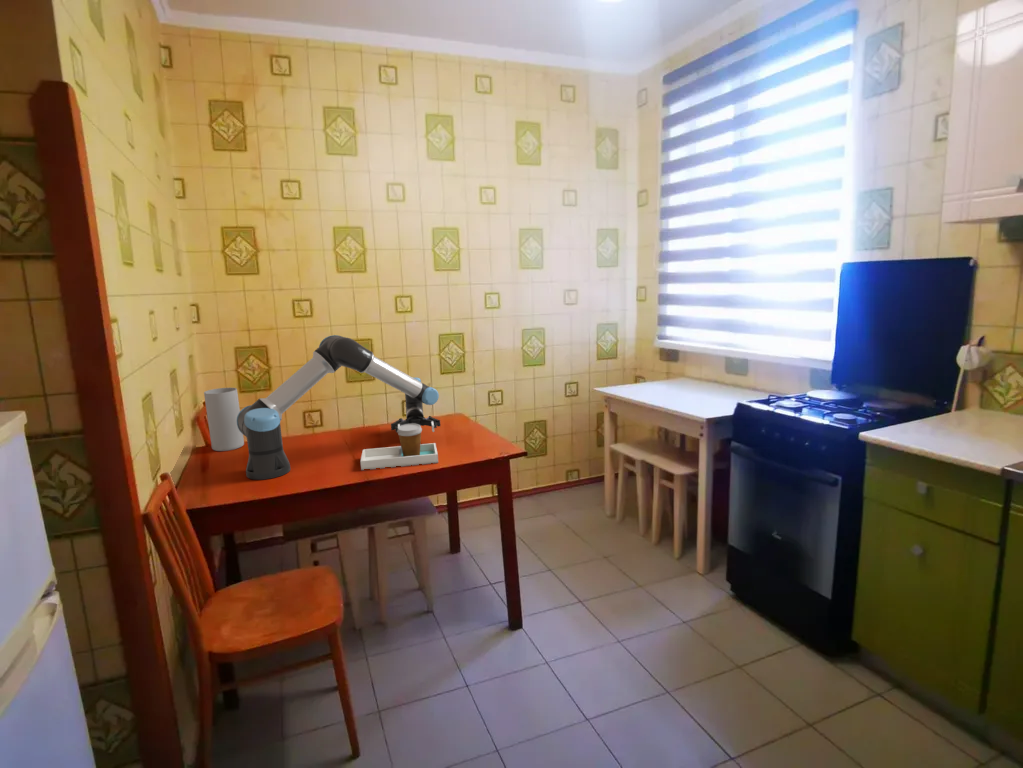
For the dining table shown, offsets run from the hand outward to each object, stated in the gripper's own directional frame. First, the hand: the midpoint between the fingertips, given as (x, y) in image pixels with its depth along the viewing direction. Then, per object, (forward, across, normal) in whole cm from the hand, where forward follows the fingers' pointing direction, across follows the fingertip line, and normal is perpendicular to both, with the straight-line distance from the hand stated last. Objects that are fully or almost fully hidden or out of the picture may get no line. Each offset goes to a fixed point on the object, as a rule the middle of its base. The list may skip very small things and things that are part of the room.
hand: (416, 430), depth 225 cm
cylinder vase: (-30, +80, -9) cm, 86 cm away
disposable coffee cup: (+9, +2, -8) cm, 12 cm away
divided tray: (+10, +7, -9) cm, 15 cm away
